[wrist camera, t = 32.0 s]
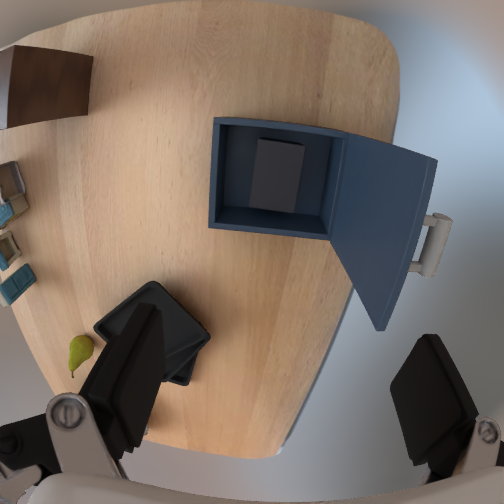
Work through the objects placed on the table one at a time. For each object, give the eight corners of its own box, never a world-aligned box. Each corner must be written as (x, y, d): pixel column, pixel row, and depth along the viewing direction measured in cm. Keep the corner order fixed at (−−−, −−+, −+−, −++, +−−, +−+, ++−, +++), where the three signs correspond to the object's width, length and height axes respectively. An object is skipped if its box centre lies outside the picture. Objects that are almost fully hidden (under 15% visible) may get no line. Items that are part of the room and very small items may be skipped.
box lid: (376, 331, 21) (426, 329, 21) (429, 157, 15) (481, 174, 15) (329, 242, 36) (367, 245, 36) (349, 132, 30) (389, 141, 30)
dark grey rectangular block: (259, 136, 38) (258, 138, 33) (301, 142, 38) (305, 146, 33) (251, 196, 42) (249, 207, 37) (291, 202, 42) (293, 213, 37)
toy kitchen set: (63, 266, 50) (34, 295, 41) (29, 283, 53) (4, 309, 44) (24, 188, 43) (-13, 207, 34) (-6, 216, 46) (-36, 235, 37)
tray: (209, 384, 62) (206, 402, 57) (116, 363, 62) (108, 379, 57) (217, 274, 49) (212, 291, 44) (94, 253, 48) (80, 267, 44)
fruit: (73, 331, 58) (49, 366, 48) (87, 327, 57) (63, 364, 46) (87, 349, 61) (66, 384, 50) (102, 346, 59) (81, 383, 49)
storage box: (218, 208, 44) (208, 228, 37) (224, 116, 37) (213, 117, 30) (322, 219, 43) (332, 241, 36) (336, 129, 37) (351, 133, 30)
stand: (49, 65, 33) (-28, 65, 17) (93, 56, 33) (14, 44, 17) (44, 119, 37) (-33, 136, 21) (87, 115, 37) (7, 128, 21)
